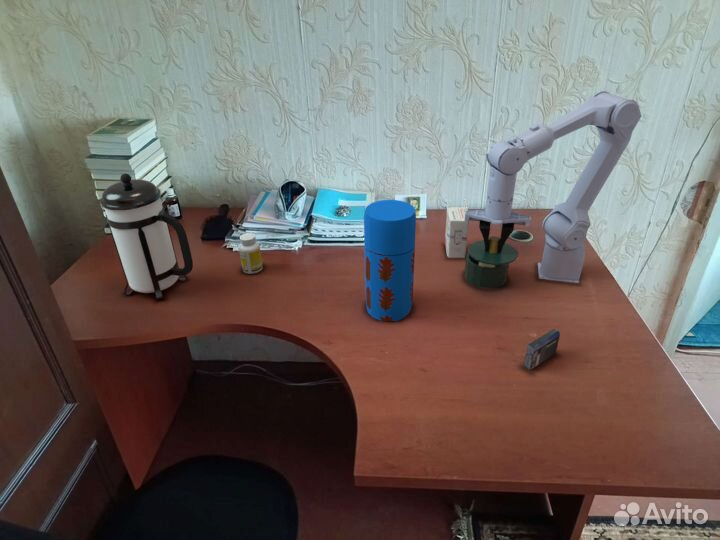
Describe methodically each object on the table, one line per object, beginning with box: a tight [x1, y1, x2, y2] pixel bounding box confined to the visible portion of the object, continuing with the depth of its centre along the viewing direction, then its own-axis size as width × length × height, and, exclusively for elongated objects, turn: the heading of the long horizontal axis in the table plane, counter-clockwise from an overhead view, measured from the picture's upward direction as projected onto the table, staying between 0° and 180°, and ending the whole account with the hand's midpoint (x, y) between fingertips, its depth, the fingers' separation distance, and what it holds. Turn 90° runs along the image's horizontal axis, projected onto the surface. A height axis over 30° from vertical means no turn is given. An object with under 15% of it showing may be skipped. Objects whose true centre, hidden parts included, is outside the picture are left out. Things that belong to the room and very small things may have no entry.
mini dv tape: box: [523, 328, 561, 371], centre depth 97 cm, size 8×2×6 cm, turn 126°
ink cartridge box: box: [444, 197, 469, 259], centre depth 133 cm, size 9×5×15 cm, turn 178°
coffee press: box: [99, 173, 194, 302], centre depth 118 cm, size 17×16×30 cm
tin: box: [463, 252, 510, 289], centre depth 124 cm, size 10×10×6 cm
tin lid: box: [467, 235, 519, 265], centre depth 117 cm, size 11×11×4 cm
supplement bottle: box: [238, 232, 264, 275], centre depth 129 cm, size 5×5×10 cm
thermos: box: [363, 199, 417, 322], centre depth 109 cm, size 11×11×25 cm
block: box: [478, 262, 495, 268], centre depth 124 cm, size 4×4×4 cm
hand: (492, 249), depth 118 cm, fingers closed on tin lid, 2 cm apart
